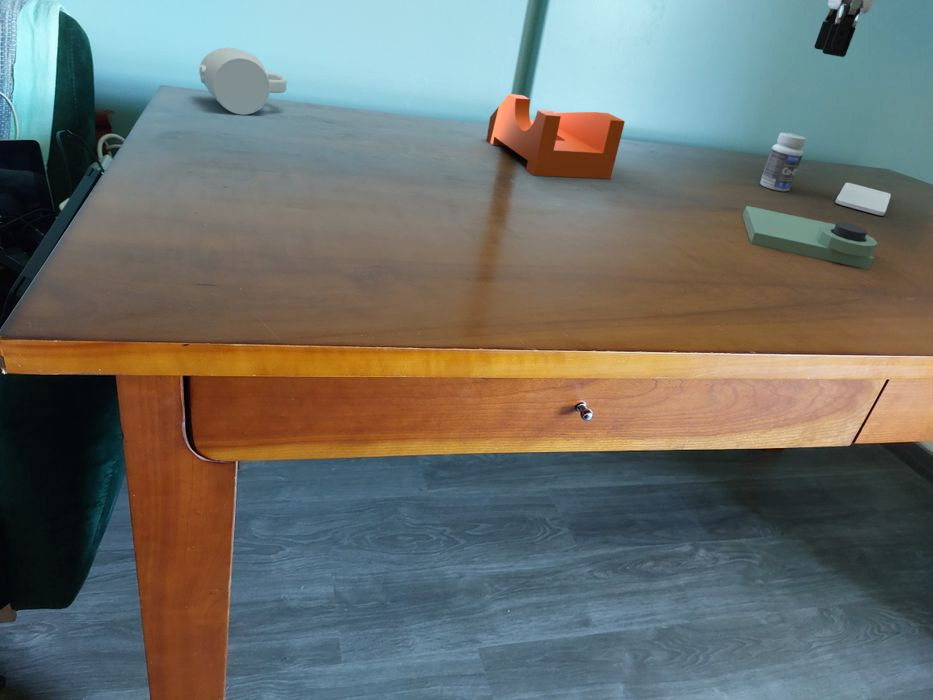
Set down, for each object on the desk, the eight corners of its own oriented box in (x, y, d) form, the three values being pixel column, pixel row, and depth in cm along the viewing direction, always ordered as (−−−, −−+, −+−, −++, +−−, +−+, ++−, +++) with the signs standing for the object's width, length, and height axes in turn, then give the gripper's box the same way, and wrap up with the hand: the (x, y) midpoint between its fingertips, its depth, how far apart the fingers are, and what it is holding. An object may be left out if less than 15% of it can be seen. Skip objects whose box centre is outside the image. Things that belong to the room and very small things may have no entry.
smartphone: (835, 199, 114) (845, 182, 126) (833, 203, 114) (844, 186, 126) (885, 212, 111) (891, 193, 123) (883, 217, 111) (889, 198, 123)
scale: (849, 239, 98) (858, 218, 97) (872, 273, 87) (883, 249, 86) (742, 216, 100) (749, 195, 99) (751, 246, 89) (759, 223, 88)
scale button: (859, 236, 90) (863, 226, 90) (866, 245, 87) (870, 235, 87) (829, 230, 91) (833, 219, 90) (835, 239, 88) (839, 228, 87)
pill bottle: (778, 193, 115) (798, 139, 111) (753, 183, 118) (771, 131, 114) (795, 191, 118) (814, 139, 114) (769, 181, 121) (788, 130, 117)
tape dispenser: (610, 178, 107) (624, 121, 103) (533, 175, 102) (545, 114, 98) (556, 144, 121) (566, 92, 117) (486, 140, 117) (495, 86, 113)
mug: (208, 113, 105) (206, 54, 102) (200, 98, 113) (198, 42, 109) (291, 117, 110) (293, 62, 107) (278, 102, 118) (279, 50, 114)
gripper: (918, -76, 95) (864, 62, 103) (890, -68, 110) (845, 52, 118) (857, -85, 96) (809, 52, 105) (838, -76, 111) (797, 44, 119)
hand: (828, 52), depth 111 cm, fingers open, 9 cm apart
